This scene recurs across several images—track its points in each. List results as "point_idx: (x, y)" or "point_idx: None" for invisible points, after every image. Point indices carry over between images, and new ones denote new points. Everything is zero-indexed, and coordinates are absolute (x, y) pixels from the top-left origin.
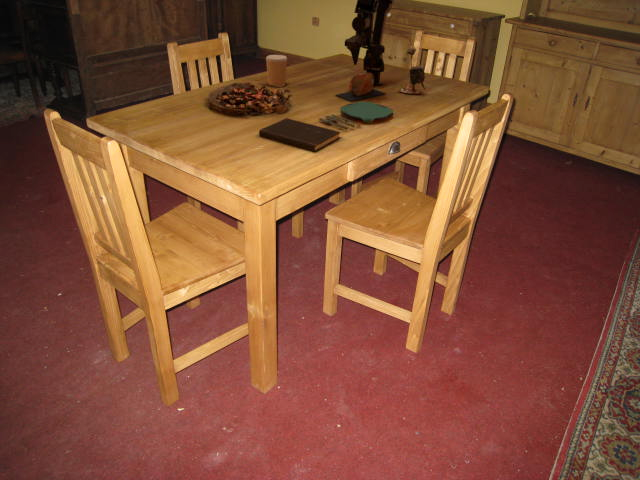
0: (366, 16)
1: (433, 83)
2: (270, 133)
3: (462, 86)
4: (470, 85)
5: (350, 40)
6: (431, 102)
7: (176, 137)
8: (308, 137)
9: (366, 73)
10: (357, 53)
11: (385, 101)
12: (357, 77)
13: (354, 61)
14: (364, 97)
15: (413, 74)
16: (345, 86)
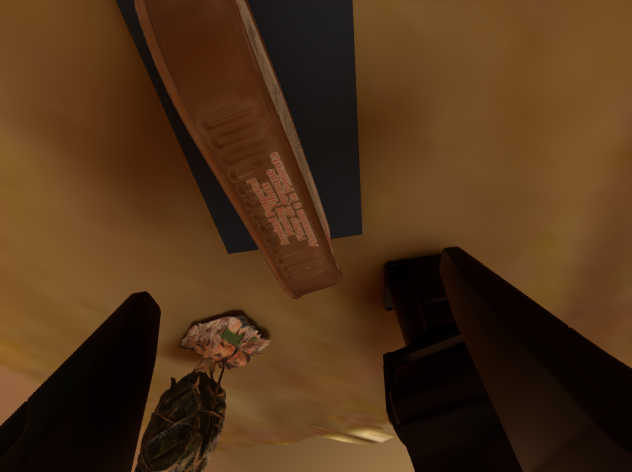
0: None
1: (298, 409)
2: None
3: (238, 436)
4: (240, 446)
5: None
6: (54, 339)
7: None
8: None
9: (278, 257)
10: (525, 436)
11: (72, 180)
12: (187, 93)
13: (467, 280)
14: (157, 78)
15: (178, 428)
16: (502, 128)
